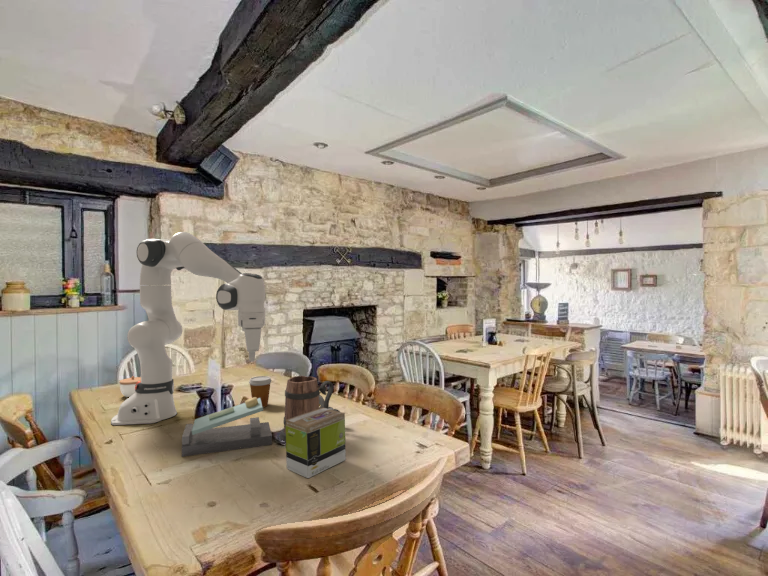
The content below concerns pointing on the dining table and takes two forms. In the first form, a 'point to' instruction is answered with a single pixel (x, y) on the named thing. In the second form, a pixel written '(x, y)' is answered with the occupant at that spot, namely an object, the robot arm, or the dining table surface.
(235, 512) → the dining table surface
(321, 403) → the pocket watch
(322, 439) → the tea box
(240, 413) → the plate
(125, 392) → the lidded jar
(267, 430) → the base
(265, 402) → the disposable coffee cup
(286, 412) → the tankard
